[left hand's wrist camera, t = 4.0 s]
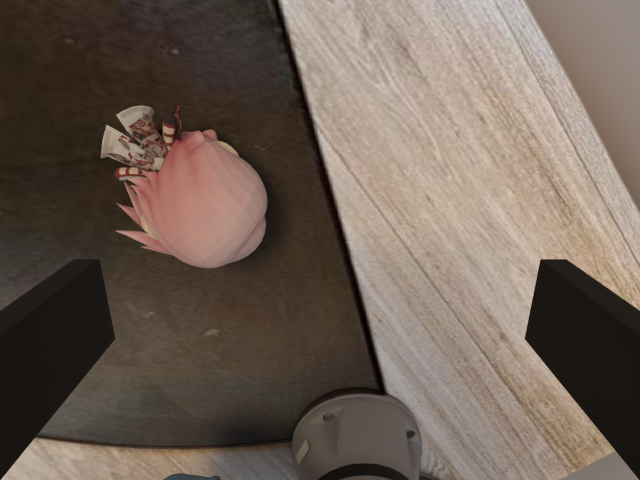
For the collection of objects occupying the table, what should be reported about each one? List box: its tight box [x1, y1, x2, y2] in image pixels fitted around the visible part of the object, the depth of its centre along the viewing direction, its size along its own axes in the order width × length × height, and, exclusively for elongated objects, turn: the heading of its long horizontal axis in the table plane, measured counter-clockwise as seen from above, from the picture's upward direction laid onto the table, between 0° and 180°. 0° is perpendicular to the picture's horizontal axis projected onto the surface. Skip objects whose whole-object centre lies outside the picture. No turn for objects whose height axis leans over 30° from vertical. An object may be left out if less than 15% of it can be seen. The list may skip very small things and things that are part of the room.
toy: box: [99, 106, 267, 268], centre depth 35 cm, size 12×11×15 cm
